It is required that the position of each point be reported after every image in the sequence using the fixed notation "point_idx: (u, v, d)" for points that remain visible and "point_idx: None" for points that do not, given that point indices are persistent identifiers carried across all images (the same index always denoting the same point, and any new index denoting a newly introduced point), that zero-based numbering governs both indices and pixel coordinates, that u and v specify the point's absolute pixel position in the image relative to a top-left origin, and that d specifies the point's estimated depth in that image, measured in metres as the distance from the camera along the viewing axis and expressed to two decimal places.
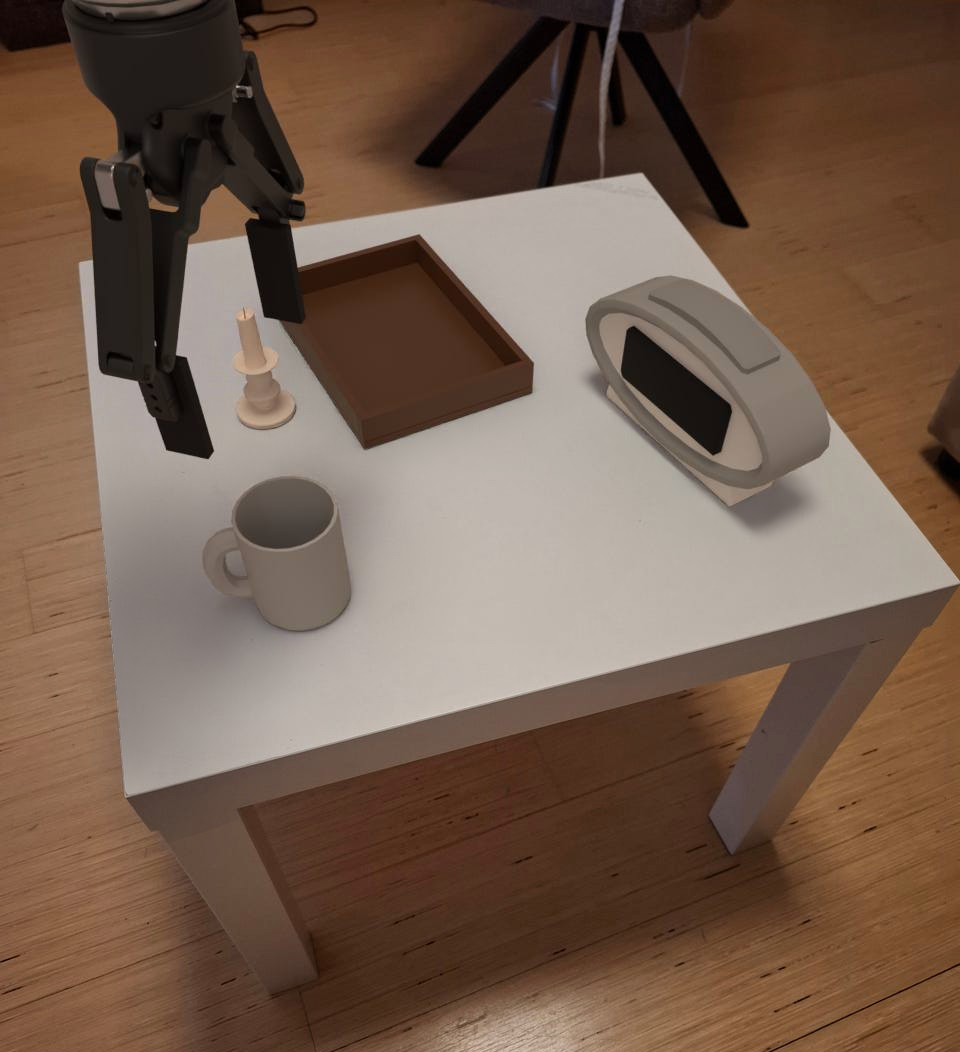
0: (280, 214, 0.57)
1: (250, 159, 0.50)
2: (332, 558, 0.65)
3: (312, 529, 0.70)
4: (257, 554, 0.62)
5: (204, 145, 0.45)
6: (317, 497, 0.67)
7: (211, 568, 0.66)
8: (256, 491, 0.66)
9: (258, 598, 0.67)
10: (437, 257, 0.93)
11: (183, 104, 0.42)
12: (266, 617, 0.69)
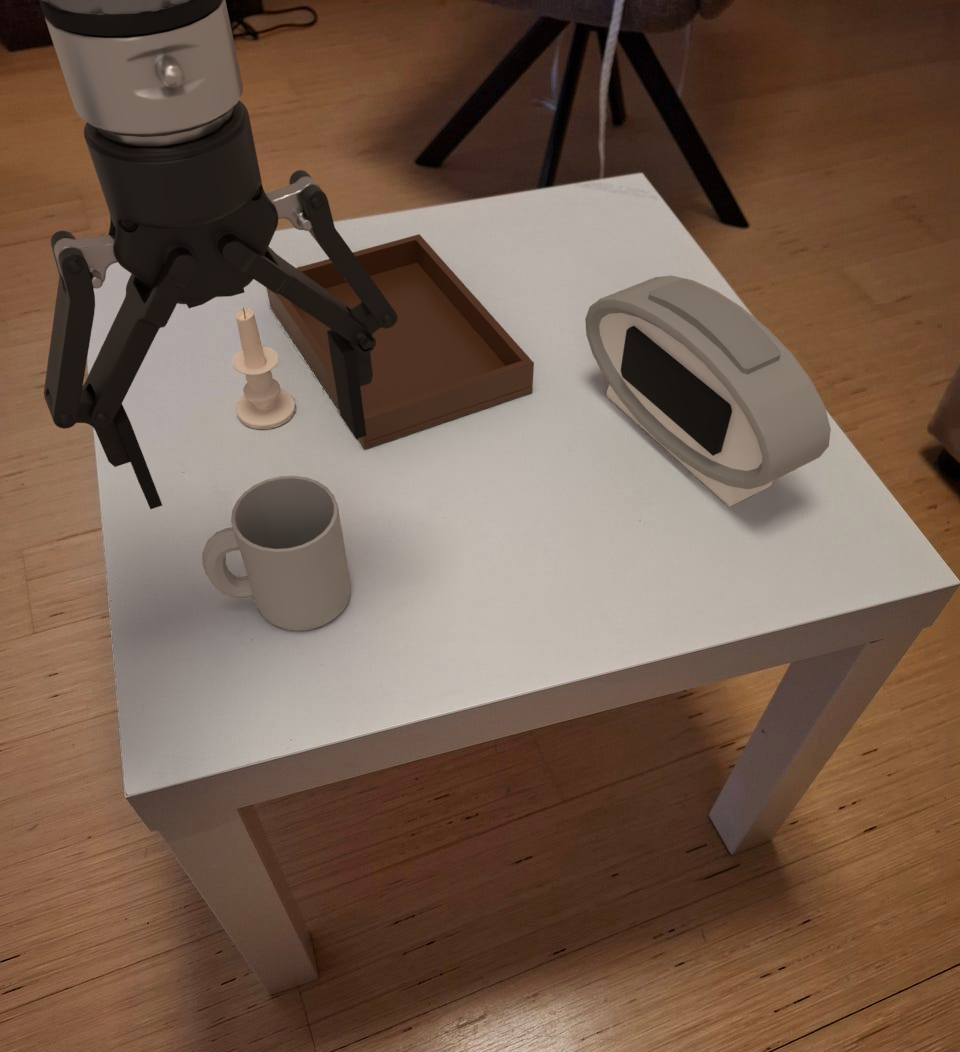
0: (347, 338, 0.56)
1: (278, 284, 0.50)
2: (332, 558, 0.65)
3: (312, 529, 0.70)
4: (257, 554, 0.62)
5: (184, 259, 0.47)
6: (317, 497, 0.67)
7: (211, 568, 0.66)
8: (256, 491, 0.66)
9: (258, 598, 0.67)
10: (437, 257, 0.93)
11: (139, 222, 0.44)
12: (266, 617, 0.69)
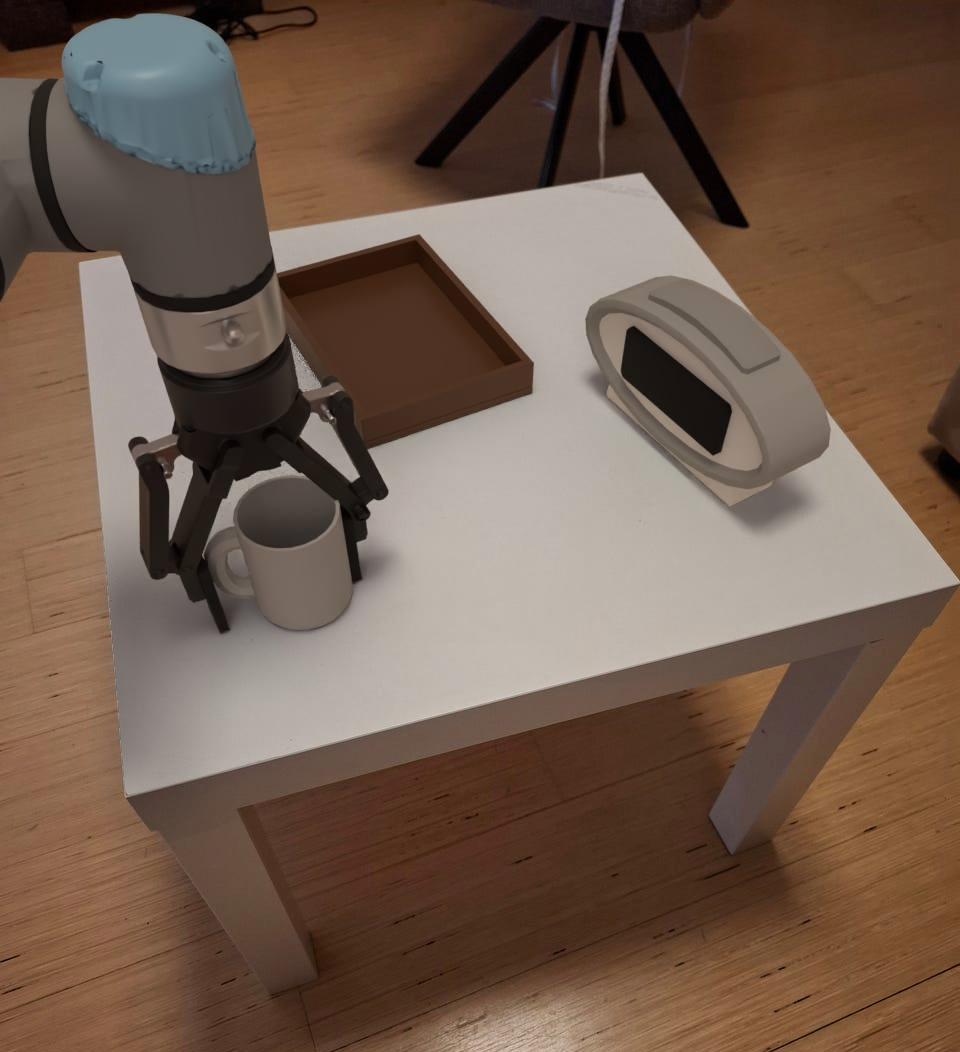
0: None
1: (303, 466, 0.60)
2: (334, 557, 0.65)
3: (314, 529, 0.70)
4: (259, 553, 0.62)
5: (235, 450, 0.57)
6: (319, 496, 0.67)
7: (213, 567, 0.66)
8: (258, 491, 0.66)
9: (260, 597, 0.67)
10: (437, 257, 0.93)
11: (201, 429, 0.54)
12: (268, 616, 0.69)
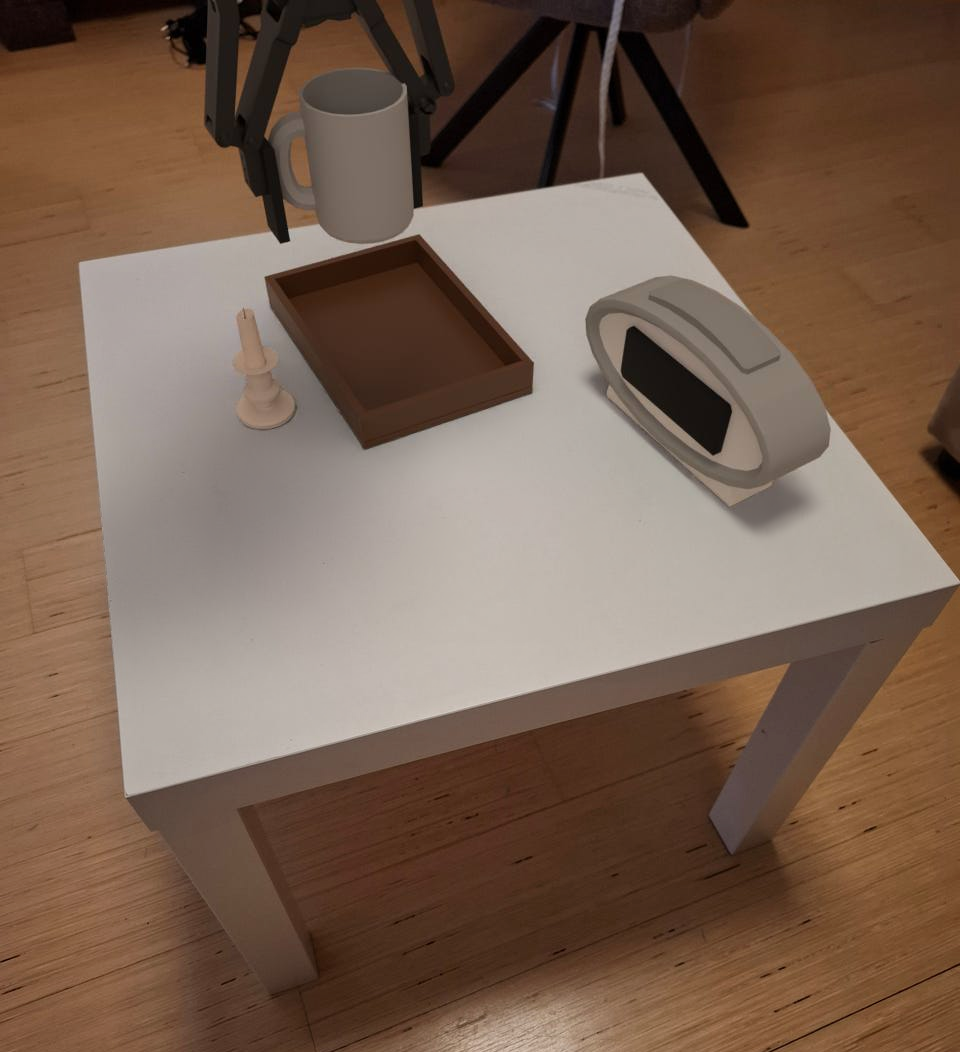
0: (411, 100, 0.65)
1: (374, 18, 0.59)
2: (400, 145, 0.64)
3: None
4: (326, 123, 0.61)
5: None
6: (383, 93, 0.65)
7: (276, 159, 0.64)
8: (323, 81, 0.64)
9: (322, 200, 0.66)
10: (437, 257, 0.93)
11: None
12: (329, 228, 0.67)
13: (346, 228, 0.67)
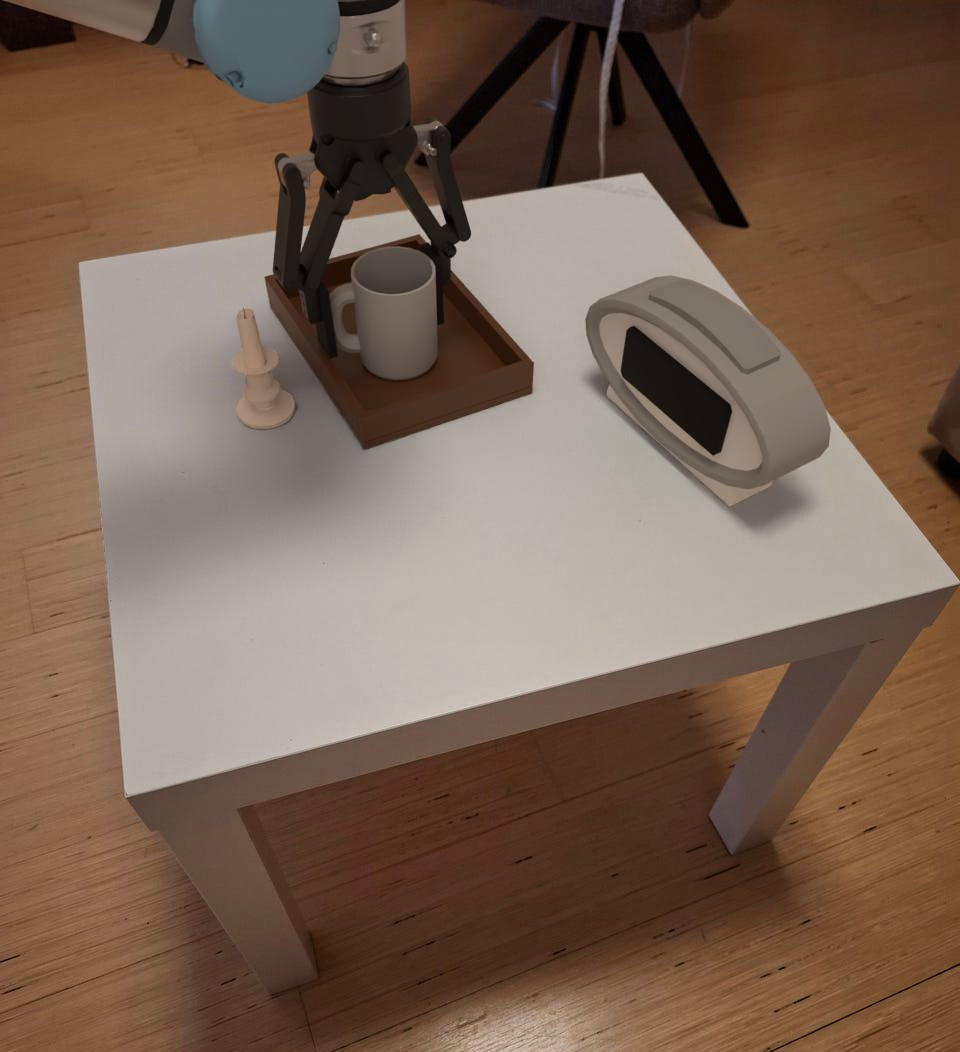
0: (436, 246, 0.80)
1: (409, 192, 0.74)
2: (429, 311, 0.81)
3: None
4: (372, 299, 0.78)
5: (359, 165, 0.71)
6: (416, 265, 0.83)
7: None
8: (369, 257, 0.82)
9: (366, 348, 0.83)
10: None
11: (338, 136, 0.68)
12: (370, 368, 0.85)
13: (384, 370, 0.84)
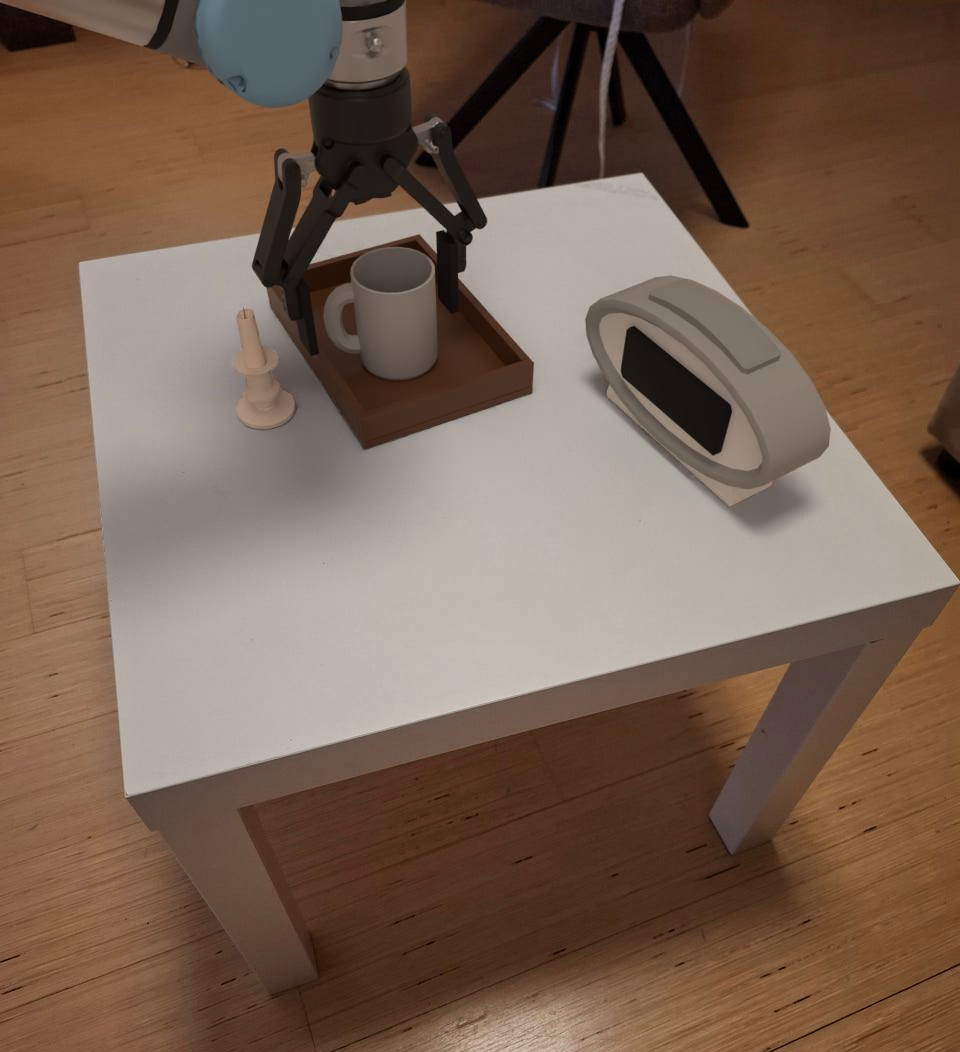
0: (452, 235, 0.80)
1: (415, 190, 0.74)
2: (428, 310, 0.81)
3: None
4: (372, 298, 0.79)
5: (360, 169, 0.71)
6: (416, 266, 0.83)
7: (331, 318, 0.82)
8: (368, 258, 0.82)
9: (366, 348, 0.83)
10: None
11: (339, 140, 0.68)
12: (370, 368, 0.85)
13: (384, 369, 0.84)
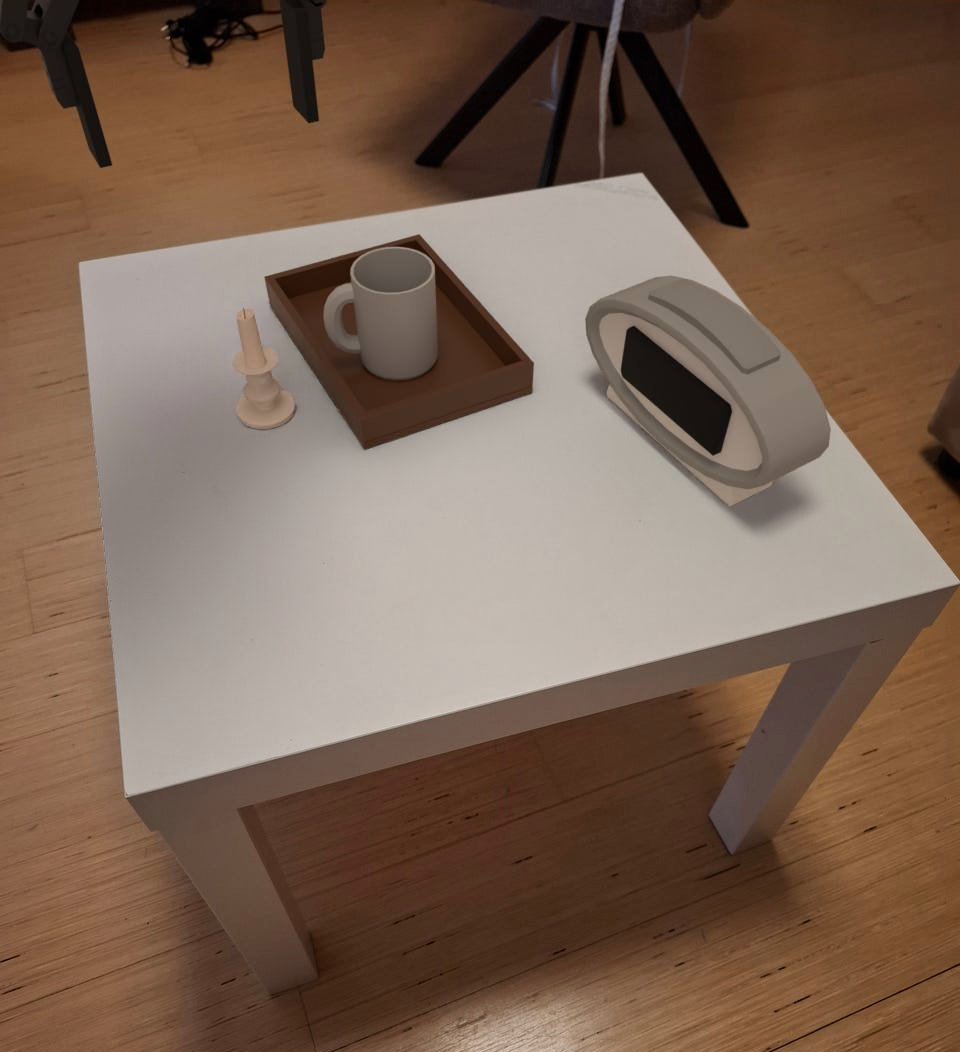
0: None
1: None
2: (428, 310, 0.81)
3: None
4: (372, 298, 0.79)
5: None
6: (416, 266, 0.83)
7: (331, 318, 0.82)
8: (368, 258, 0.82)
9: (366, 348, 0.83)
10: (437, 257, 0.93)
11: None
12: (370, 368, 0.85)
13: (384, 369, 0.84)
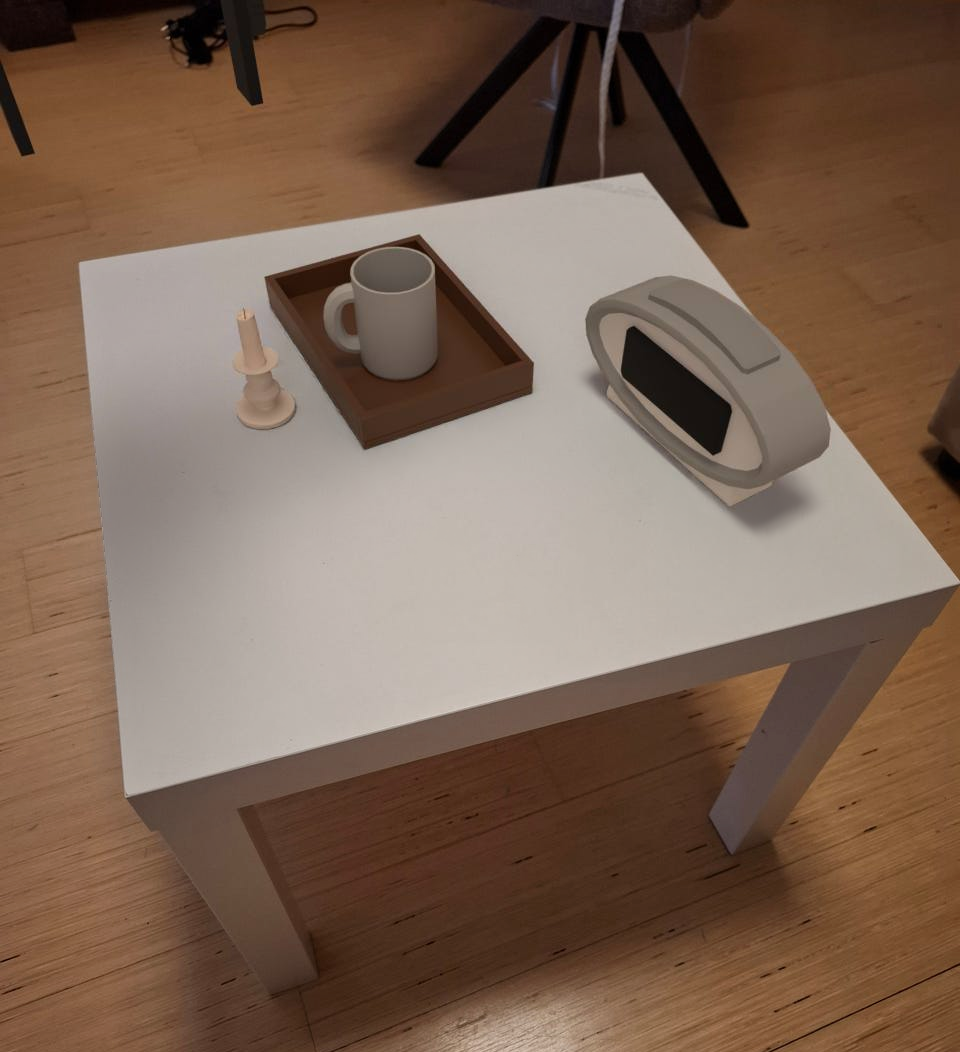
0: None
1: None
2: (428, 310, 0.81)
3: None
4: (372, 298, 0.79)
5: None
6: (416, 266, 0.83)
7: (331, 318, 0.82)
8: (368, 258, 0.82)
9: (366, 348, 0.83)
10: (437, 257, 0.93)
11: None
12: (370, 368, 0.85)
13: (384, 369, 0.84)
